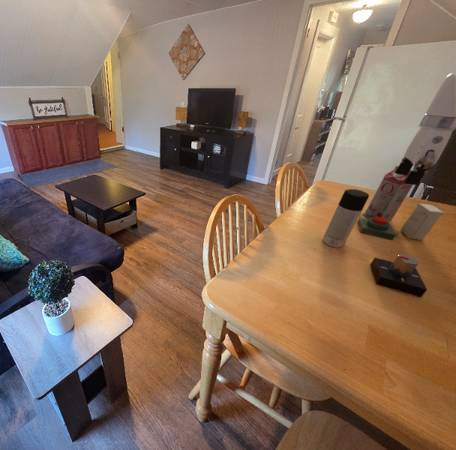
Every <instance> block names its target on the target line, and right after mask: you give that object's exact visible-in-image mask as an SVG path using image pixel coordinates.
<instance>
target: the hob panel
mask: <svg viewBox="0 0 456 450" xmlns="http://www.w3.org/2000/svg"><path fill="white" fill-rule="evenodd" d="M393 262H394V261H391V260H386V259H383V258H379V257H373V259H372V260H371V262H370V264H369V265H370V268H371V272H372V275H373V279H374V282H375V285H378V286H381V287H385V288H388V289H392V290H395V291H399V292H402V293H405V294H408V295H411V296H416V297H418V298H422V296H423V295H424V294H425V293H426V292H427V290H428V289H427V286H426V285H425V283H424V281H423V279H422V277H421V275H420V273H419V272H418V270H417V267H415V269H414V270H413V271H412V273H411V274H410V275H409V276H408V277H401V276H398V275H396V274H394V273H392V272H391V271H390V269H389V268H390V267H391V265H392V264H393Z"/></svg>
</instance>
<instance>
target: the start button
mask: <svg viewBox="0 0 456 450" xmlns="http://www.w3.org/2000/svg"><path fill="white" fill-rule="evenodd" d="M386 221H387V220H386V219H385V218H382V217H375V218H374V220H373V222H375V223H377V224H381V225H385V223H386Z"/></svg>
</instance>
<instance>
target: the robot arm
mask: <svg viewBox="0 0 456 450" xmlns="http://www.w3.org/2000/svg"><path fill="white" fill-rule="evenodd" d="M418 124H419V125H418V127H419V129H418V131H417V132H416V134H415V135H414V136H413V138H412V140H411V142H410V144H409V145H408V147H407V149H406V151H405V153H404V157H403V158H401V162H400V163H399V165H398V166H399V167H398V168H397V170H396V172H395V173H396V174H401V175H408V173H409V171H410V170H412V171H411V172H410V173H409V175H408V177H407V178H406V180H405V183H406V184H412V185H413V186H418V185H419V184H420V183H421V181H422V180H423V178H424V176H425V175H426V174H427V173H428V171H429V170H430V169H431V168H432V166H435V165H436V164H437V162H438V160H439V159H440V157H441V155H442V154H443V152H444V150H445V148H446V146H447V144H448V143H449V141H450V138H451V136H452V134H453V131H455V130H456V72H455V71H454V72H451V73H449V74H448V75H447V76H446V77H445V78H444V79H443V81H442V83H441V85H440V86H439V88H438V90H437V92H436V94H435V95H434V96H433V99H432V101H431V103H430V105H429V106H428V108H427V110H426V112H425V114H424V116H423V117H422V119H421V121H420V123H418ZM412 168H413V169H412Z"/></svg>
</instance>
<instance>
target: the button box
mask: <svg viewBox="0 0 456 450" xmlns="http://www.w3.org/2000/svg"><path fill="white" fill-rule="evenodd" d="M373 220H374V218H368V219H367V218H363V217H358V219H357V225H358V228H359V232H360V233H361V234H365V235H370V236H374V237H379V238H382V239H386V240H391V241H394V240H395V238H396V236H397V234H396V232H395V230H394V229H393V226H392V224H391V223H390V222H387V221H386V223H385V225H381V224H377V223H375V222H373Z"/></svg>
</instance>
